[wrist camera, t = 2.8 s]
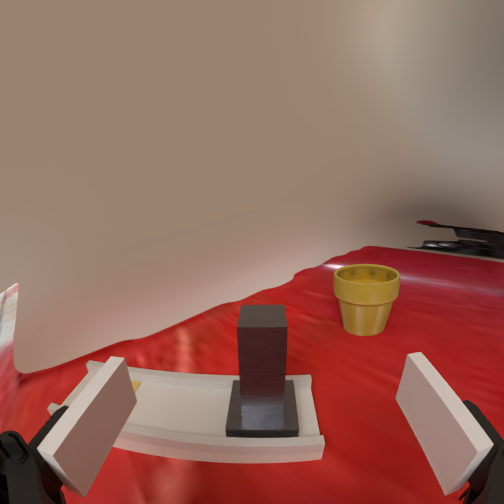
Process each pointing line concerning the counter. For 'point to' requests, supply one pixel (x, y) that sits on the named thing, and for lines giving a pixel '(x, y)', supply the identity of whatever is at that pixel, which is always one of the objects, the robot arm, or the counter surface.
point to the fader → (262, 377)
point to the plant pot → (365, 296)
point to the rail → (203, 419)
